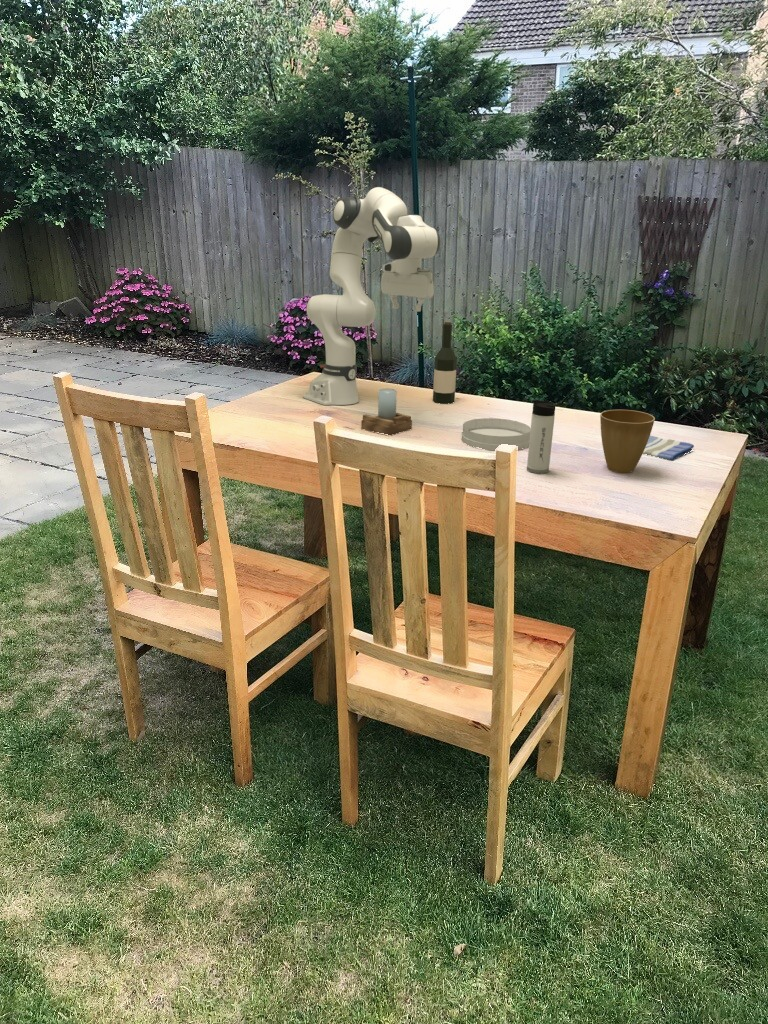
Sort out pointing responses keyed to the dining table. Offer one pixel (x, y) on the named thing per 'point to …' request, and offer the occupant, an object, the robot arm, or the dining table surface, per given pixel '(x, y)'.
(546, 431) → the travel mug
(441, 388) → the wine bottle
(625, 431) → the plant pot
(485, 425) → the dish
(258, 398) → the dining table surface
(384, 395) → the grey domed cylinder
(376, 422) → the chest
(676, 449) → the dish towel
